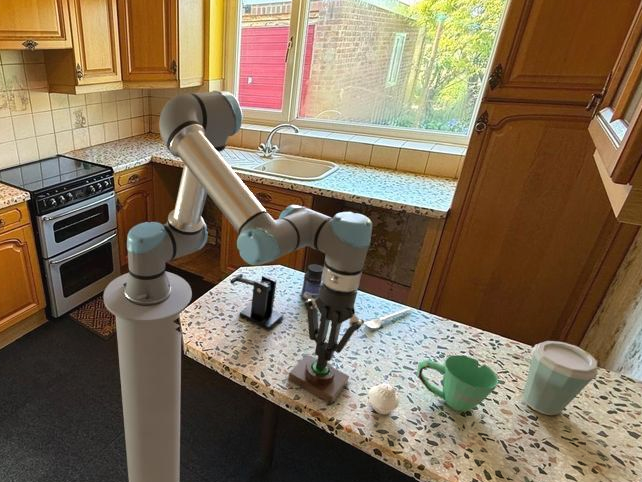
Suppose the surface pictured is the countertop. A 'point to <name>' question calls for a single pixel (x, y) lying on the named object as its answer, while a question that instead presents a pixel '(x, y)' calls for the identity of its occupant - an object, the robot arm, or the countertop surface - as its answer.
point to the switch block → (318, 379)
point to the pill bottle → (312, 282)
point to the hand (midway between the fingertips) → (321, 366)
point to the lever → (248, 281)
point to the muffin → (383, 398)
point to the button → (324, 371)
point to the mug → (461, 381)
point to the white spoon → (383, 319)
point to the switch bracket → (262, 305)
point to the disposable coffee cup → (557, 376)
